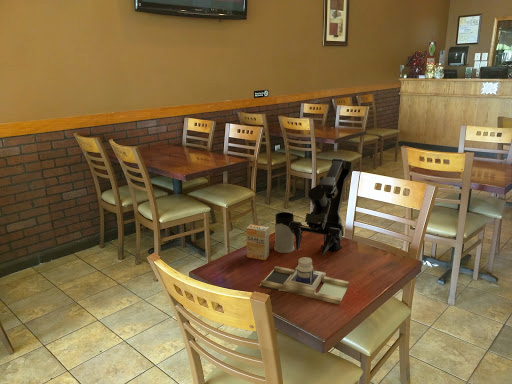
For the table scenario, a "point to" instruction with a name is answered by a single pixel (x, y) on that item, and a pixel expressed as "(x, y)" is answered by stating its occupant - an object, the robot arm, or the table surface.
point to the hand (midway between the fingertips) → (309, 252)
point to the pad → (333, 290)
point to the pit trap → (277, 278)
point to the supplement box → (257, 242)
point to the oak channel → (305, 289)
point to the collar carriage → (293, 280)
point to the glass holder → (284, 233)
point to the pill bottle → (305, 271)
